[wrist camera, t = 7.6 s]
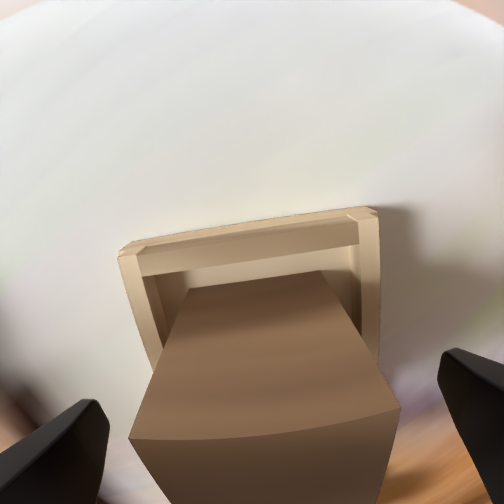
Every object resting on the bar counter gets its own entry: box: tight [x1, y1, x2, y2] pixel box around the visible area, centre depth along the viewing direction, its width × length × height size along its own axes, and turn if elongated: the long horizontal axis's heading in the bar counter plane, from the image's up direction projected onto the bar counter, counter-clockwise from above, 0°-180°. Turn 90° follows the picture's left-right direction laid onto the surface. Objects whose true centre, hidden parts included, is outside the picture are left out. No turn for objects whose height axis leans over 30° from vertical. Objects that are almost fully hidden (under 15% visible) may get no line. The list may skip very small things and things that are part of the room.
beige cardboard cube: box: [128, 270, 401, 504], centre depth 7 cm, size 5×4×6 cm
